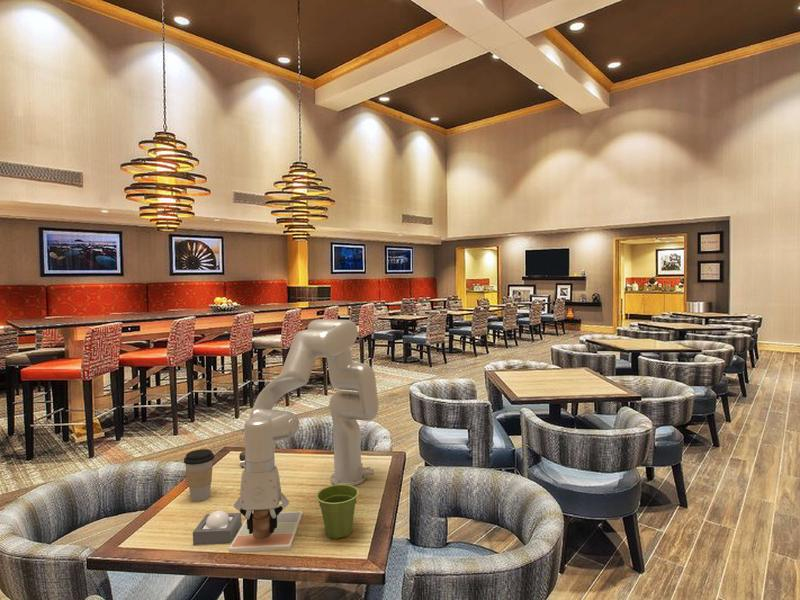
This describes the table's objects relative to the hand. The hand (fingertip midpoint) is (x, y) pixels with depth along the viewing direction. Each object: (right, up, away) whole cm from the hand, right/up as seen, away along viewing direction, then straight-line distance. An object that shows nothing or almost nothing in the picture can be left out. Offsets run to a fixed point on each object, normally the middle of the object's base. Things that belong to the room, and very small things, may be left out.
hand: (262, 530), depth 127 cm
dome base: (-14, -4, +6) cm, 16 cm away
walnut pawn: (0, -1, 0) cm, 1 cm away
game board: (0, -4, +6) cm, 7 cm away
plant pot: (+20, -3, +5) cm, 21 cm away
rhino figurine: (-21, -3, +61) cm, 64 cm away
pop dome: (-14, -4, +6) cm, 16 cm away
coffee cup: (-29, -4, +29) cm, 41 cm away
